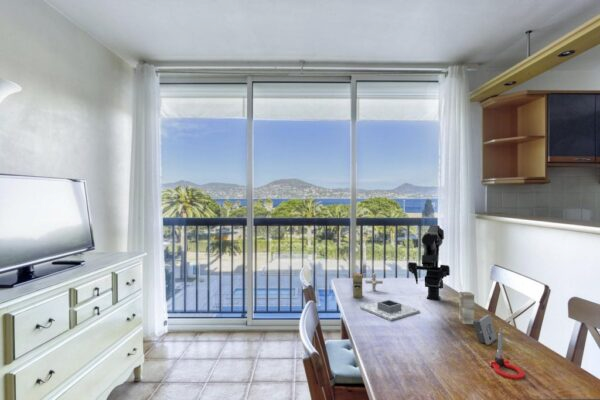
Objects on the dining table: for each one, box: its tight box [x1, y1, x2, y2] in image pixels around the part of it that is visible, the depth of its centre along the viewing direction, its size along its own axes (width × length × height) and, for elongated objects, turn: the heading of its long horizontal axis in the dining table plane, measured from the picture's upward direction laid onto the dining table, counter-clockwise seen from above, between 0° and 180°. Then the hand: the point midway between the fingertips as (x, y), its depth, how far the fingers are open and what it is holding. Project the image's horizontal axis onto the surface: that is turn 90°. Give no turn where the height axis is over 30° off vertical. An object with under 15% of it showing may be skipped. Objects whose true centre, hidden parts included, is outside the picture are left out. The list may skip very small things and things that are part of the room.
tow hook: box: [488, 327, 525, 380], centre depth 109 cm, size 8×13×9 cm
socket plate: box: [359, 299, 421, 322], centre depth 166 cm, size 20×20×4 cm
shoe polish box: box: [352, 273, 363, 299], centre depth 189 cm, size 5×5×12 cm
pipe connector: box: [364, 272, 384, 292], centre depth 200 cm, size 10×10×10 cm
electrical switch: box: [473, 314, 498, 346], centre depth 133 cm, size 9×5×9 cm, turn 133°
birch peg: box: [458, 291, 475, 325], centre depth 151 cm, size 4×4×13 cm
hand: (427, 285), depth 159 cm, fingers open, 9 cm apart
